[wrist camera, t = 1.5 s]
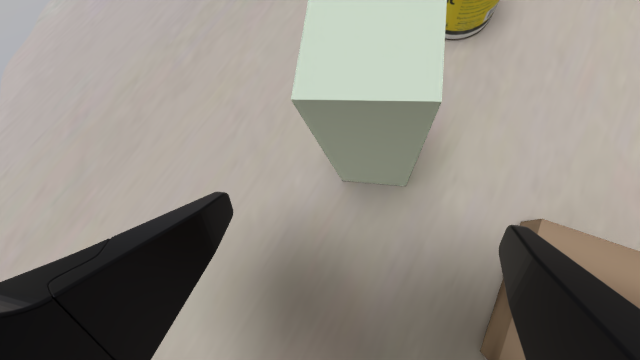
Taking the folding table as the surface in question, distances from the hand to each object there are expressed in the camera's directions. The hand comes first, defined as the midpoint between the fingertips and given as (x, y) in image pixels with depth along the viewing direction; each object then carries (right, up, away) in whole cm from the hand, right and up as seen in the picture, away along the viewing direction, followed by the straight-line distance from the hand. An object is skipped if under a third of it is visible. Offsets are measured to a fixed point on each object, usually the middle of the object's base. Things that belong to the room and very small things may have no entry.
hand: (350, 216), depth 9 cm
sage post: (+4, +3, +13) cm, 14 cm away
